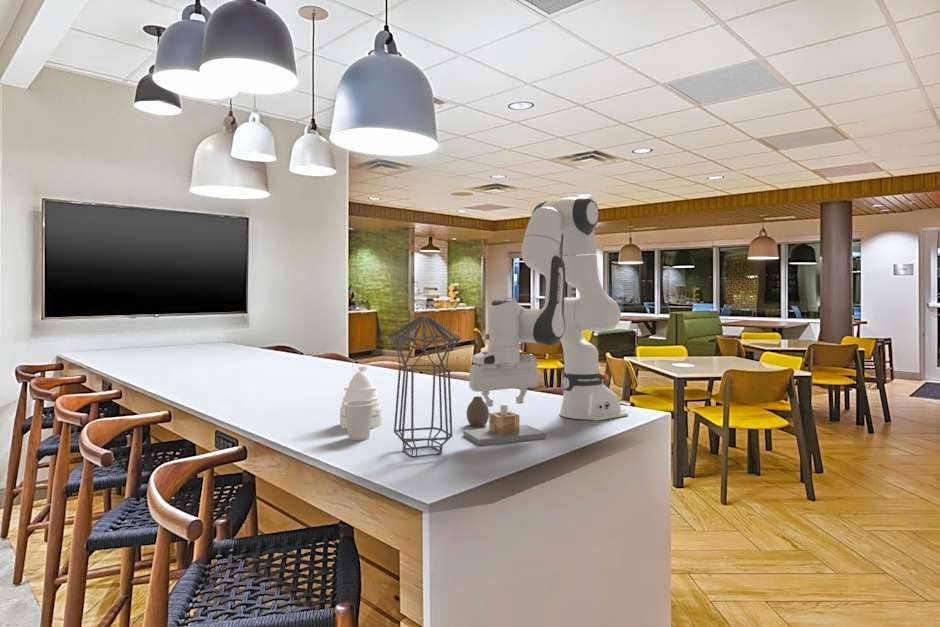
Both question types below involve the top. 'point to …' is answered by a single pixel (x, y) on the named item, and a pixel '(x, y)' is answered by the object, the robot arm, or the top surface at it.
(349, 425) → the dixie cup
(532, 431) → the board
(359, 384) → the honey pot
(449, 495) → the top surface
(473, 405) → the vase
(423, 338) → the geometric lantern
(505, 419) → the brown hollow square block
